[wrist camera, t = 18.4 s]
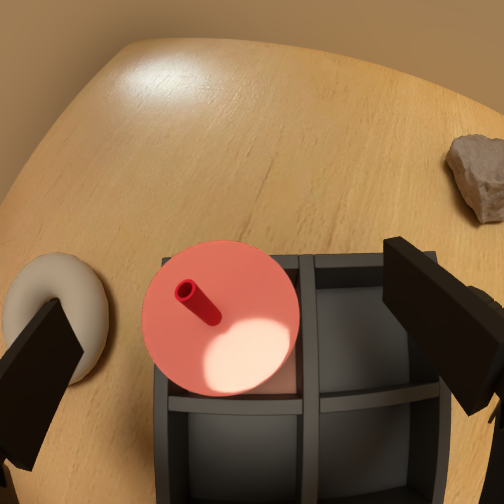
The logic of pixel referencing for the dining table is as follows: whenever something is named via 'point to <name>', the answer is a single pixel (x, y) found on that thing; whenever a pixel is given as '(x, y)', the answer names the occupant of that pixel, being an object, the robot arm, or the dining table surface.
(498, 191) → the stone
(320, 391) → the grid
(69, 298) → the donut
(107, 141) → the dining table surface
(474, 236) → the dining table surface
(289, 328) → the cup
